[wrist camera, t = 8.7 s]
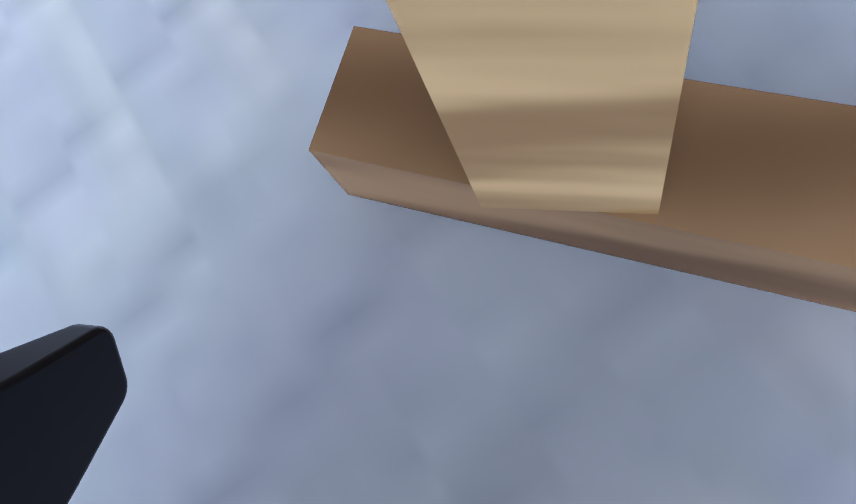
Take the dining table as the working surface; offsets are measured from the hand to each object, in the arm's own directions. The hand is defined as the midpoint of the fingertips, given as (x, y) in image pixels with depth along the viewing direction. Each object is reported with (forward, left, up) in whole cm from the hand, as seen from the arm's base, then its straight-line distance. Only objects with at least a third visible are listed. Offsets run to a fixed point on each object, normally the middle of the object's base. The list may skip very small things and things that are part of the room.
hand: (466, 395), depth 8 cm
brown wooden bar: (+8, -1, -13) cm, 15 cm away
